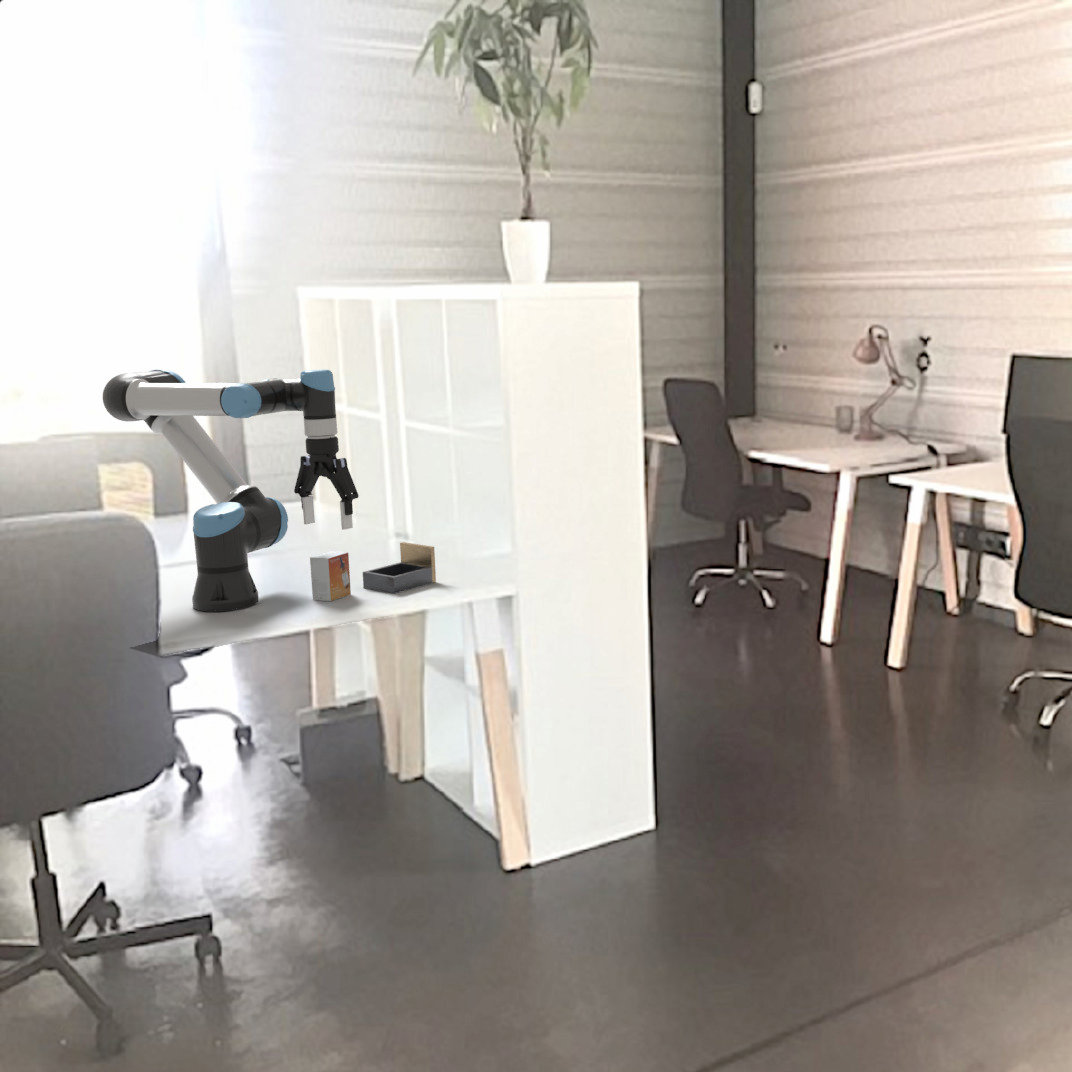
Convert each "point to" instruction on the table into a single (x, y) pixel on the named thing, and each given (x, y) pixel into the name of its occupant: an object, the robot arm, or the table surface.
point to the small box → (330, 576)
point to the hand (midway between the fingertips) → (328, 526)
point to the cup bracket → (404, 570)
